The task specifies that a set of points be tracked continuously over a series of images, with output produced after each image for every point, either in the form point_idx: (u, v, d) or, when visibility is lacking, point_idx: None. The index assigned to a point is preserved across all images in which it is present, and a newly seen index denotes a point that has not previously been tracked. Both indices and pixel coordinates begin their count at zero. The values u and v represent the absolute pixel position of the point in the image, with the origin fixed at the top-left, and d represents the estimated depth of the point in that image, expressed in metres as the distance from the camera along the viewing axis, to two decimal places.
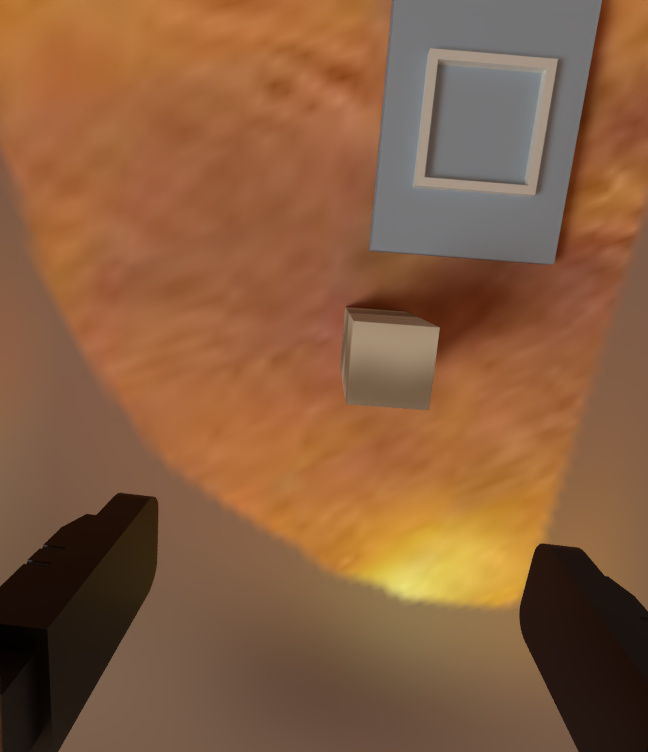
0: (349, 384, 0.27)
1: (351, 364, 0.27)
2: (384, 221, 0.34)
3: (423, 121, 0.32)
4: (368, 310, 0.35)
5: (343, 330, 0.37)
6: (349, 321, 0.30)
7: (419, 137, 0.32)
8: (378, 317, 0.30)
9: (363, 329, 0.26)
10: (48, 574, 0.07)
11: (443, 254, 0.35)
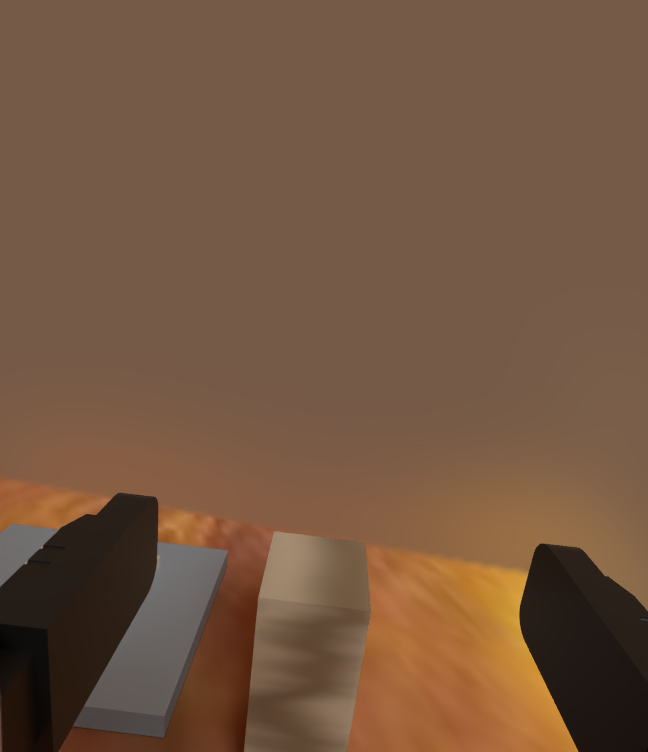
0: (343, 606, 0.20)
1: (315, 602, 0.20)
2: (131, 696, 0.25)
3: None
4: None
5: None
6: (261, 667, 0.21)
7: None
8: None
9: (270, 588, 0.21)
10: (48, 573, 0.07)
11: (195, 632, 0.29)
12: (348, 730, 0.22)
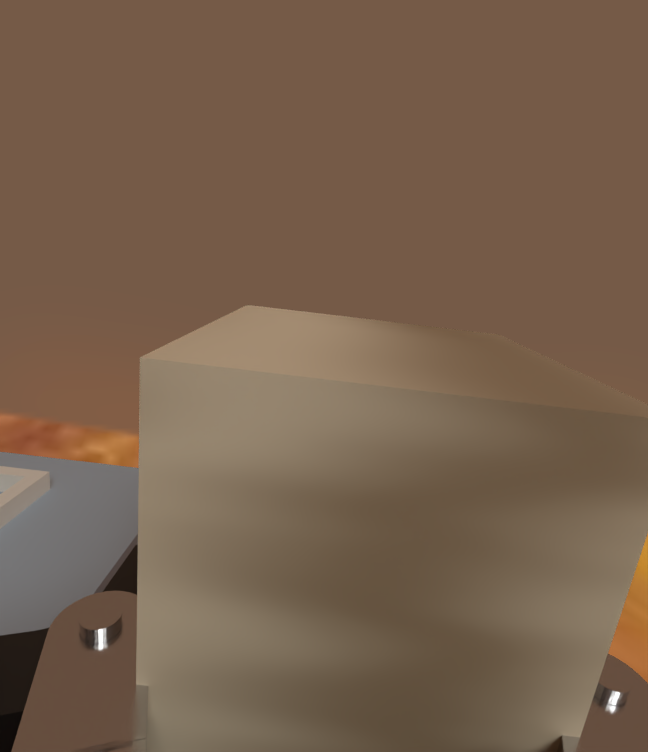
0: (545, 403, 0.04)
1: (414, 384, 0.04)
2: None
3: None
4: None
5: None
6: (173, 694, 0.05)
7: None
8: None
9: (206, 351, 0.05)
10: None
11: None
12: None
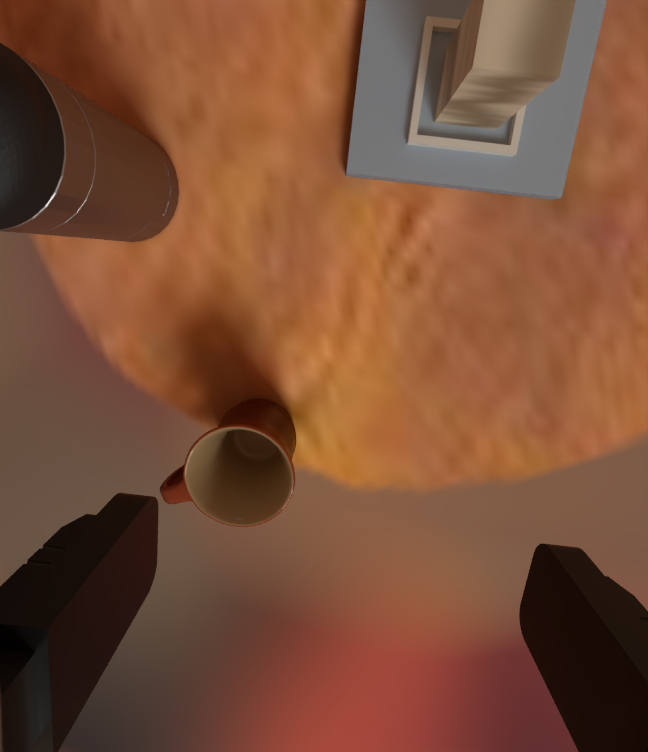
0: (538, 72, 0.26)
1: (517, 70, 0.26)
2: (538, 184, 0.38)
3: (464, 147, 0.36)
4: (443, 90, 0.34)
5: (458, 123, 0.36)
6: (462, 91, 0.30)
7: (474, 150, 0.37)
8: (462, 56, 0.29)
9: (482, 56, 0.26)
10: (48, 574, 0.07)
11: (577, 124, 0.36)
12: (513, 113, 0.33)
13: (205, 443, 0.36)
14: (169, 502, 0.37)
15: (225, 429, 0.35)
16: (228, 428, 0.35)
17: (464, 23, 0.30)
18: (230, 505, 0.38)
